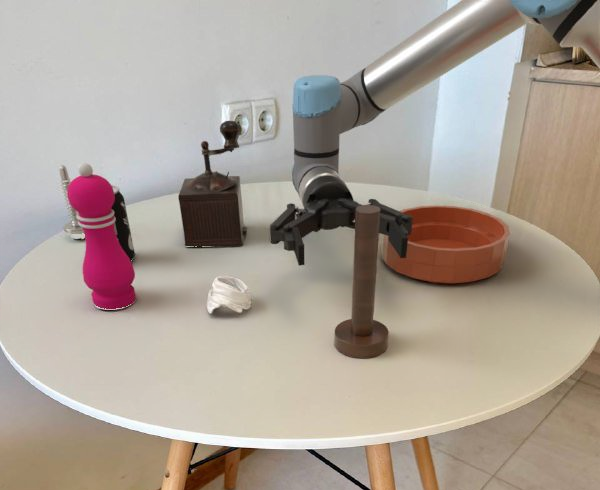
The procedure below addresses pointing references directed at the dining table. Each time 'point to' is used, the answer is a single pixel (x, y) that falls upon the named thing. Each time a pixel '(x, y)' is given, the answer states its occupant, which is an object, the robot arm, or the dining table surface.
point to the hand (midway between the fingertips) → (353, 251)
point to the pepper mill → (101, 241)
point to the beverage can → (122, 224)
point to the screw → (73, 225)
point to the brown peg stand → (363, 292)
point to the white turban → (228, 294)
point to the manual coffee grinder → (214, 200)
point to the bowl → (450, 245)
